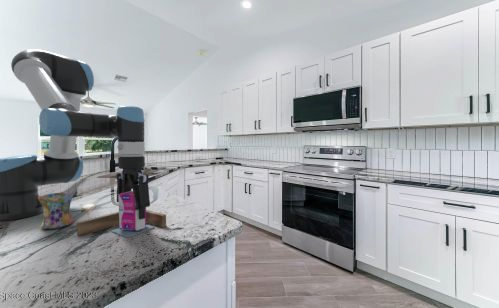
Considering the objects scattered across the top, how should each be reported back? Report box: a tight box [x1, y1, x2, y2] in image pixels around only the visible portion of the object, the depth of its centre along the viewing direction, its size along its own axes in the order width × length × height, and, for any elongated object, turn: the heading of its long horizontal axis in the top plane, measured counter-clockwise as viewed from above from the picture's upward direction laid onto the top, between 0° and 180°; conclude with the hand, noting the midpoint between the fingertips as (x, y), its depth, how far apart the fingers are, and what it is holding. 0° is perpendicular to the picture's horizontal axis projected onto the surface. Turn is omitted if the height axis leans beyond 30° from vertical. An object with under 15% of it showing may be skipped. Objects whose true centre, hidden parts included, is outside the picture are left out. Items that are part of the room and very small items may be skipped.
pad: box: [110, 224, 155, 238], centre depth 72 cm, size 9×9×1 cm
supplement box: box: [118, 190, 147, 231], centre depth 71 cm, size 6×6×12 cm
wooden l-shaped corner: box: [76, 209, 167, 237], centre depth 71 cm, size 17×19×4 cm
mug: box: [38, 191, 75, 230], centre depth 76 cm, size 12×9×11 cm
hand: (133, 226), depth 72 cm, fingers closed on supplement box, 7 cm apart
